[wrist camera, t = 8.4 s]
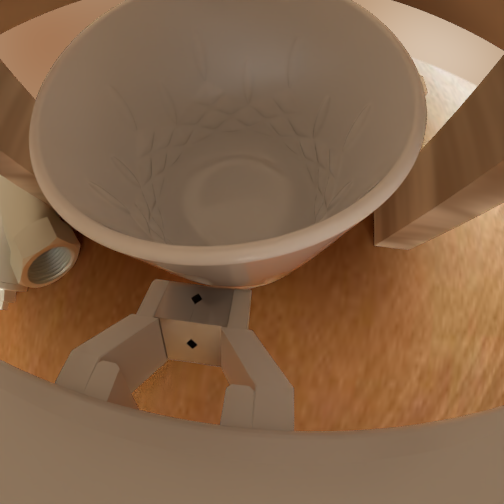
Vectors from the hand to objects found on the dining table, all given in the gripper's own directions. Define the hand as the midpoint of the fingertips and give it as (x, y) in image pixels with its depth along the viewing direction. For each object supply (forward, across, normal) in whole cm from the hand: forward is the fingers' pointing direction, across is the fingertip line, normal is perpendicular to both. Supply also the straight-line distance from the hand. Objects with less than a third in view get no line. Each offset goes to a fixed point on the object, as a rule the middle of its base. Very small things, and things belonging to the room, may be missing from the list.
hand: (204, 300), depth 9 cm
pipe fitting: (+5, +12, +2) cm, 13 cm away
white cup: (+6, 0, 0) cm, 6 cm away
